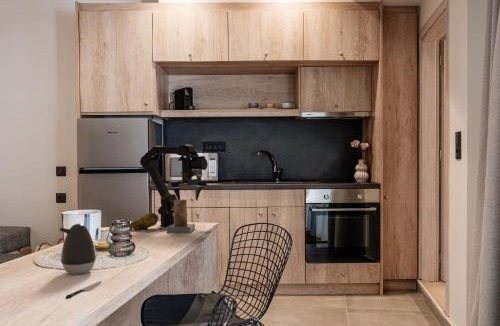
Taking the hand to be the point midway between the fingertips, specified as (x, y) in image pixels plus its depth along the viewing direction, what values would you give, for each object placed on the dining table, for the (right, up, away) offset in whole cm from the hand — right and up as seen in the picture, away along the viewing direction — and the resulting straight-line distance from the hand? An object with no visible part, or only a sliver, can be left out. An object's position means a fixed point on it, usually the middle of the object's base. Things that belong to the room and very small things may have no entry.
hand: (188, 201), depth 242 cm
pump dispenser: (-22, -15, -91) cm, 95 cm away
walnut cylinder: (-2, -11, -12) cm, 16 cm away
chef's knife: (-13, -16, -110) cm, 111 cm away
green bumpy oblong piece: (-20, -14, -5) cm, 25 cm away
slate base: (-2, -13, -12) cm, 18 cm away
